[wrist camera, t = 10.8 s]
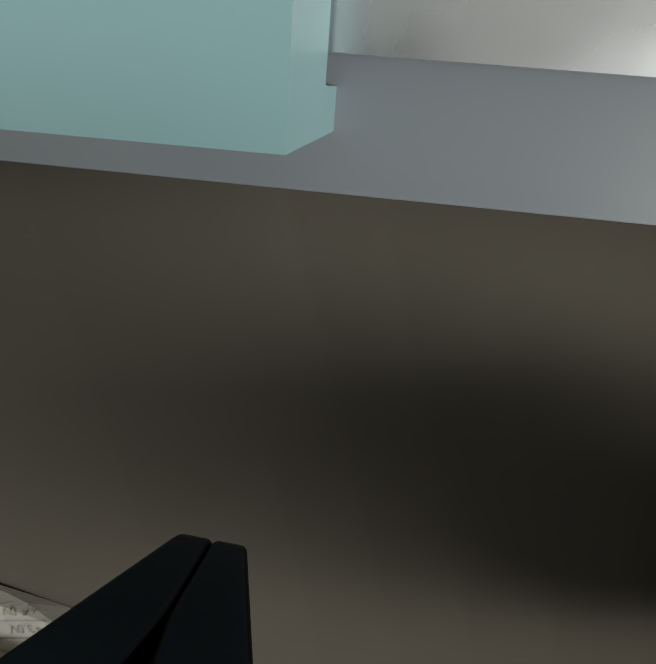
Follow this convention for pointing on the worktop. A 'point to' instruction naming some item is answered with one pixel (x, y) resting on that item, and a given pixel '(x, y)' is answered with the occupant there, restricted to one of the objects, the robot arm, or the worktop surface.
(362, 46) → the din rail
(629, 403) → the worktop surface
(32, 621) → the packaged product
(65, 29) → the block
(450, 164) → the plate
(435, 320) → the worktop surface
